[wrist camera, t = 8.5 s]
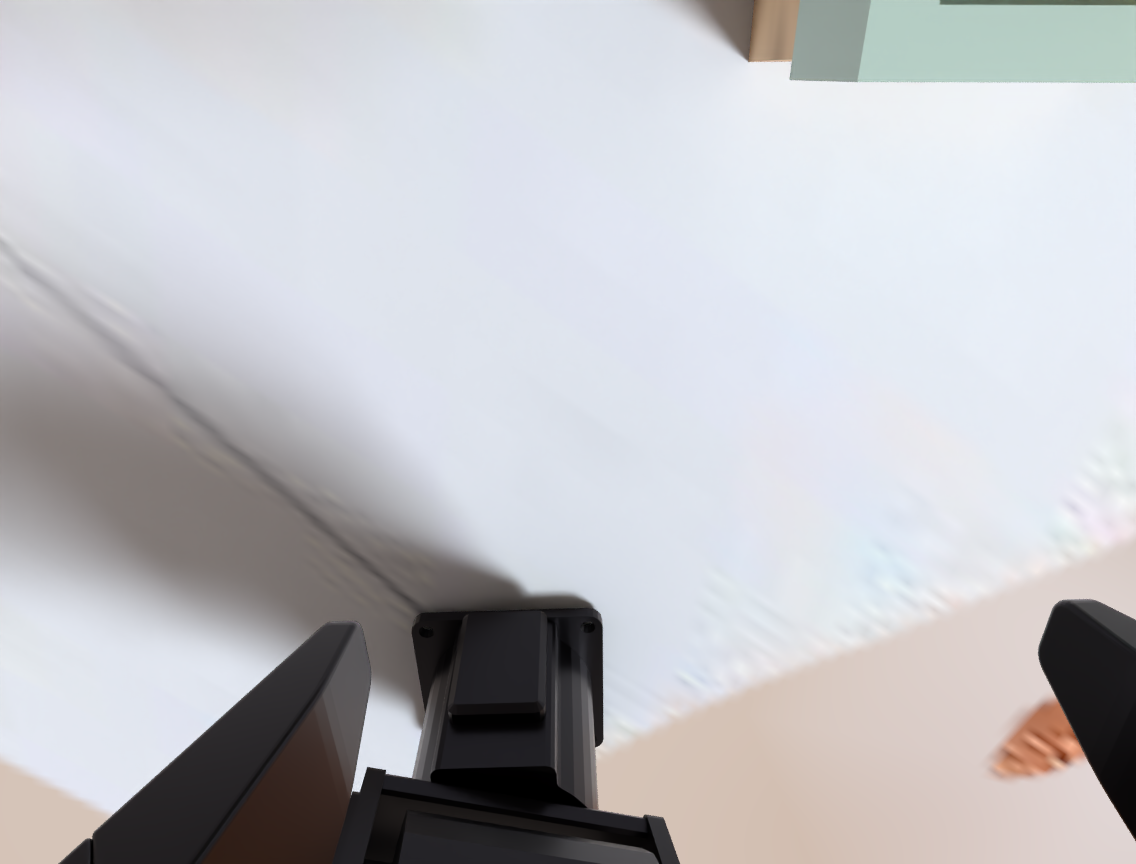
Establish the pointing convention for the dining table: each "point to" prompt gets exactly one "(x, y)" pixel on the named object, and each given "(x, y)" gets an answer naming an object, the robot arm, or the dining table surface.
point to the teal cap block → (965, 41)
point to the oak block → (773, 30)
